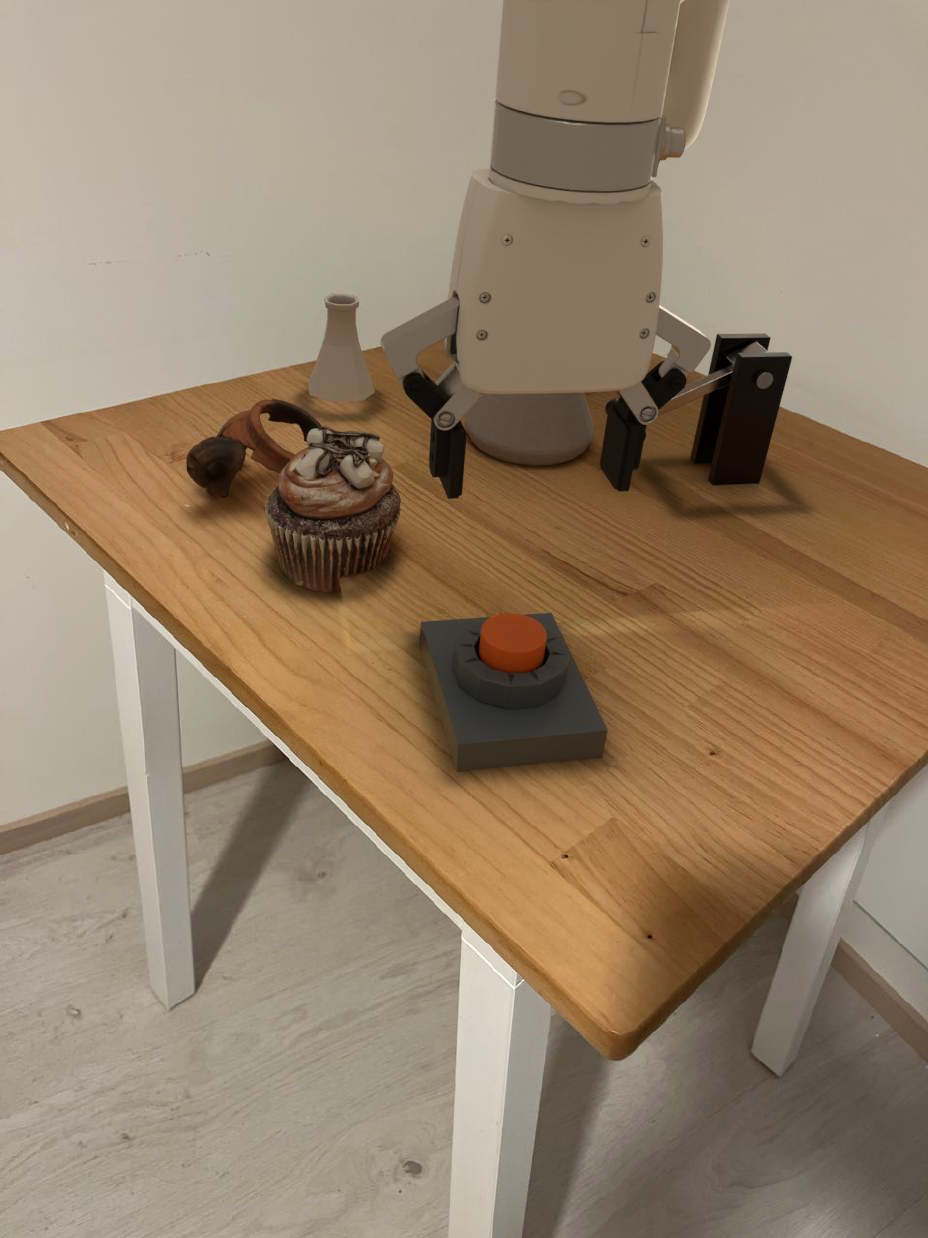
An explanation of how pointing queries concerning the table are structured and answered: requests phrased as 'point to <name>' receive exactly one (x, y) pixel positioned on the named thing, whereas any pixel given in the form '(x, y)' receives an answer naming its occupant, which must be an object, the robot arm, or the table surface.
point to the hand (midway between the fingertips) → (532, 482)
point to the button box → (509, 700)
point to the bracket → (740, 411)
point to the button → (512, 643)
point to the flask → (341, 355)
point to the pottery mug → (244, 445)
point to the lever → (704, 382)
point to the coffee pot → (531, 427)
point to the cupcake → (333, 509)
